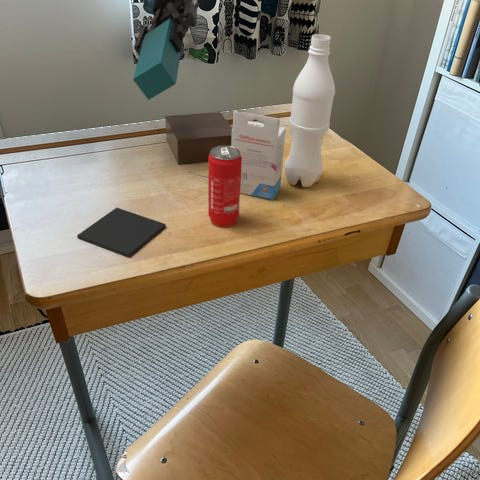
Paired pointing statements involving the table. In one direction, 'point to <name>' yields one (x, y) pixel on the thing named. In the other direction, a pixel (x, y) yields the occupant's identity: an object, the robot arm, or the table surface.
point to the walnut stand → (196, 135)
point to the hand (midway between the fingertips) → (160, 54)
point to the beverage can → (224, 185)
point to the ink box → (259, 153)
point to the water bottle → (310, 114)
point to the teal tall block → (157, 62)
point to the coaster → (122, 232)
